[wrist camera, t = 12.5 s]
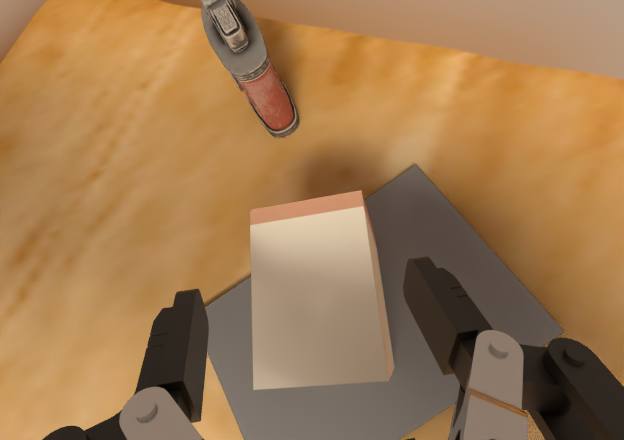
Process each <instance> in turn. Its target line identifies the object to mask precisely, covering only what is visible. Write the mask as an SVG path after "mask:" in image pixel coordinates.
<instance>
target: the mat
mask: <svg viewBox="0 0 624 440" xmlns="http://www.w3.org/2000/svg"><path fill="white" fill-rule="evenodd" d="M364 201H365V204H366V208H367V211H368V215H369V218H370V222H371V225H372V229H373V232H374V236H375V240H376V247H377V253H378V260H379V267H380V273H381V280H382V286H383V293H384V300H385V306H386V313H387V320H388V326H389V333H390V340H391V346H392V353H393V359H394V366H395V368H394V370H393V372H392V375H391V377H390V380H389V381H384V382H369V383H353V384H338V385H322V386H307V387H291V388H276V389H260V390H253V346H252V296H251V277H249V278H248V279H246V280H245V281H243V282H242V283H240V284H239V285H237V286H236V287H234V288H233V289H231V290H230V291H228V292H227V293H225V294H224V295H222V296H221V297H219V298H218V299H216V300H215V301H214V302H212V303H211V304H209V305H208V306H206V307H205V310H206V313H207V317H208V324H209V335H208V346H207V352H208V355H209V357H210V359H211V362H212V364H213V367H214V369H215V371H216V374H217V376H218V378H219V381H220V383H221V386H222V388H223V390H224V393H225V395H226V398H227V400H228V402H229V405H230V407H231V409H232V412H233V414H234V417H235V419H236V421H237V424H238V426H239V429H240V431H241V433H242V436H243V438H244V440H399V439H401V438H403V437H404V436H406V435H407V434H409V433H410V432H412V431H413V430H415V429H416V428H418V427H419V426H421V425H422V424H424V423H426V422H427V421H429V420H430V419H432V418H433V417H435V416H436V415H438V414H439V413H441V412H442V411H444V410H445V409H447V408H449V407H450V406H452V405H453V404H455V402H456V397H457V392H458V387H459V381H458V379H457V377H456V376H455V374H449V375H443V373H442V371H441V369H440V367H439V365H438V363H437V362H436V360H435V358H434V356H433V354H432V352H431V350H430V348H429V346H428V344H427V342H426V340H425V338H424V336H423V334H422V332H421V330H420V328H419V326H418V325H417V323H416V321H415V319H414V317H413V315H412V313H411V311H410V309H409V307H408V305H407V303H406V301H405V298H404V294H403V283H404V277H405V271H406V265H407V261H408V259H411V258H419V257H426V256H428V257H429V258H430V259H431V260H432V262H433V263H434V264H435V266H436V267H437V268H444V269H446V270H447V271H449V272H450V273H451V274H453V275H454V276H455V277H456V278H457V280H458V281H459V283H460V284H461V285H462V288H464V290H465V291H466V292H467V294H468V297H470V298H471V299H472V301H473V302H474V303H475V305H476V306H477V307H478V309H479V310H480V312H481V313H482V314H483V316H484V317H485V319H486V320H487V321H488V323H489V324H490V325H491V327H492V328H493V329H494V330H496V331H500V332H503V333H505V334H507V335H509V336H510V337H512V338H513V339H514V340H515V341H516V342H517V343H518V344H522V345H530V346H537V347H542V346H544V345H545V344H547V343H548V342H550V341H551V340H553V339H554V338H556V337H558V336H559V335H561V334H562V333H564V332H565V331H564V330H563V329H562V328H561V327H560V326H559V325H558V323H557V322H556V321H555V320H554V319H553V318H552V317H551V316H550V314H549V313H548V312H547V311H546V310H545V309H544V308H543V307H542V305H541V304H540V303H539V302H538V301H537V300H536V299H535V298H534V297H533V295H532V294H531V293H530V292H529V291H528V290H527V289H526V288H525V286H524V285H523V284H522V283H521V282H520V281H519V280H518V279H517V277H516V276H515V275H514V274H513V273H512V272H511V271H510V270H509V268H508V267H507V266H506V265H505V264H504V263H503V262H502V261H501V259H500V258H499V257H498V256H497V255H496V254H495V253H494V252H493V251H492V249H491V248H490V247H489V246H488V245H487V244H486V243H485V242H484V240H483V239H482V238H481V237H480V236H479V235H478V234H477V233H476V231H475V230H474V229H473V228H472V227H471V226H470V225H469V224H468V222H467V221H466V220H465V219H464V218H463V217H462V216H461V215H460V213H459V212H458V211H457V210H456V209H455V208H454V207H453V206H452V204H451V203H450V202H449V201H448V200H447V199H446V198H445V197H444V196H443V194H442V193H441V192H440V191H439V190H438V189H437V188H436V187H435V185H434V184H433V183H432V182H431V181H430V180H429V179H428V178H427V176H426V175H425V174H424V173H423V172H422V171H421V170H420V169H419V167H418V166H417V165H415V166H414V167H412V168H411V169H409V170H408V171H406V172H405V173H403V174H402V175H400V176H399V177H397V178H396V179H394V180H393V181H391V182H390V183H388V184H387V185H385V186H384V187H382V188H381V189H380V190H378V191H377V192H375V193H374V194H372V195H371V196H369V197H368V198H366V199H365V200H364Z"/></svg>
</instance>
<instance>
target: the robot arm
mask: <svg viewBox="0 0 624 440" xmlns="http://www.w3.org/2000/svg"><path fill="white" fill-rule="evenodd" d="M403 294H404V298H405V301H406V303H407V305H408V307H409V309H410V311H411V313H412V315H413V317H414V319H415V321H416V323H417V325H418V326H419V328H420V330H421V332H422V334H423V336H424V338H425V340H426V342H427V344H428V346H429V348H430V350H431V352H432V354H433V356H434V358H435V360H436V362H437V363H438V365H439V367H440V369H441V371H442V373H443V375H449V374H455V376H456V377H457V379H458V381H459V387H458V392H457V397H456V402H455V408H454V413H453V418H452V424H451V429H450V434H449V438H448V440H528V418H527V414H526V413H525V412H523V411H522V410H528V411H529V413H530V415H531V416H532V418H533V420H534V421H535V423H536V425H537V426H538V428H539V430H540V431H541V433H542V435H543V436H544V438H545V439H546V440H624V387H623V386H622V385H621V383H620V382H619V381H618V380H617V379H616V378H615V377H614V375H613V374H612V373H611V372H610V371H609V370H608V369H607V367H606V366H605V365H604V364H603V363H602V362H601V361H600V359H599V358H598V357H597V356H596V355H595V354H594V353H593V352H592V351H591V350H590V349H589V348H587V347H586V346H585V345H583V344H581V343H579V342H577V341H575V340H572V339H568V338H556V339H554V340H552V341H551V342H550V343H549V345H548V347H547V348H545V347H537V346H530V345H522V344H518V343H517V342H516V341H515V340H514V339H513V338H512V337H510V336H509V335H507V334H505V333H503V332H500V331H496V330H494V329H493V328H492V327H491V325H490V324H489V323H488V321H487V320H486V319H485V317H484V316H483V314H482V313H481V312H480V310H479V309H478V307H477V306H476V305H475V303H474V302H473V301H472V299H471V298H470V297H468V294H467V292H466V291H465V290H464V288H462V285H461V284H460V283H459V281H458V280H457V278H456V277H455V276H454V275H453V274H451V273H450V272H449V271H447V270H446V269H444V268H437V267H436V266H435V264H434V263H433V262H432V260H431V259H430V258H429V257H428V256H426V257H419V258H411V259H408V261H407V265H406V271H405V277H404V283H403ZM208 335H209V324H208V317H207V313H206V310H205V307H204V303H203V300H202V297H201V293H200V291H199V289H193V290H186V291H179V292H177V293H176V295H175V300H174V305H173V307H170V308H163V309H162V310H161V312H160V313H159V314H158V316H157V317H156V318H155V320H154V322H153V326H152V329H151V333H150V337H149V341H148V348H147V349H146V353H145V357H144V361H143V365H142V368H141V372H140V376H139V380H138V384H137V388H136V391H135V393H134V395H133V396H132V397H131V398H130V399H129V400H128V402H127V403H126V404H125V406H124V407H123V409H122V410H121V411H120V412H119V413H118V414H116V415H115V416H113V417H111V418H109V419H108V420H105V421H103V422H101V423H99V424H97V425H95V426H93V427H91V428H89V429H87V430H85V431H83V430H82V429H81V428H80V427H77V426H66V427H62V428H60V429H57V430H55V431H54V432H52V433H50V434H49V435H48V436H46V437H45V438H44V439H43V440H204V439H203V438H202V437H201V436H200V434H199V433H198V432H197V430H196V429H195V428H194V426H193V425H192V424H191V423H193V422H198V421H201V412H202V401H203V390H204V379H205V368H206V357H207V346H208ZM407 440H415V438H412V439H407Z"/></svg>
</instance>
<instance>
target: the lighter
mask: <svg viewBox="0 0 624 440" xmlns="http://www.w3.org/2000/svg"><path fill="white" fill-rule="evenodd" d="M201 2H202V4H203V8H202V11H201V15H202V20H203V25H204V29H205V32H206V35H207V37H208V40H209V43H210V45H211V46H212V48H213V50H214V51H215V53H216V54H217V56H218V57H219V59H220V60H221V62H222V64H223V65H224V67H225V68H226V69H227V71H228V72H229V74H230V75H231V77H232V79H233V80H234V82H235V83H236V85H237V86H238V88H239V89H240V91H242V92H243V91H244V92H245V94H246V96H247V99H248V101H249V104H250V106H251V107H252V109H253V111H254V112H255V114H256V115H257V117H258V118H259V120H260V121H261V123H262V124H263V126H264V127H265V128H266V129H267V130H268V131H269V132H270V134H271V135H272V136H274V137H275V138H285V137H288V136H290V135H291V134H293V133H294V132H295V131H296V130H297V128H298V126H299V117H298V114H297V111H296V107H295V104H294V102H293V100H292V98H291V96H290V94H289V92H288V89H287V87H286V85H285V84H284V82H283V81H282V80H281V78H280V77H279V75H278V74H277V72H276V70H275V68H274V66H273V64H272V61H271V59H270V56H269V53H268V49H267V46H266V42H265V40H264V38H263V36H262V34H261V31H260V29H259V27H258V25H257V23H256V21H255V19H254V17H253V16H252V14H251V13H250V12H249V11H248V9H247V8H246V6H245V5H244V4H243V3H242V2H241V1H240V0H201Z"/></svg>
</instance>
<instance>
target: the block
mask: <svg viewBox="0 0 624 440" xmlns="http://www.w3.org/2000/svg"><path fill="white" fill-rule="evenodd" d="M250 246H251V296H252V346H253V390H260V389H276V388H291V387H307V386H322V385H338V384H353V383H369V382H384V381H389V380H390V377H391V375H392V372H393V370H394V368H395V366H394V359H393V353H392V346H391V340H390V333H389V326H388V320H387V313H386V306H385V300H384V293H383V286H382V280H381V273H380V267H379V260H378V253H377V247H376V240H375V236H374V232H373V229H372V225H371V222H370V218H369V215H368V211H367V208H366V204H365V201H364V197H363V194H362V190H359V191H353V192H348V193H342V194H336V195H331V196H325V197H319V198H314V199H308V200H303V201H297V202H291V203H286V204H280V205H274V206H269V207H263V208H257V209H252V210H250Z"/></svg>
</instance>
